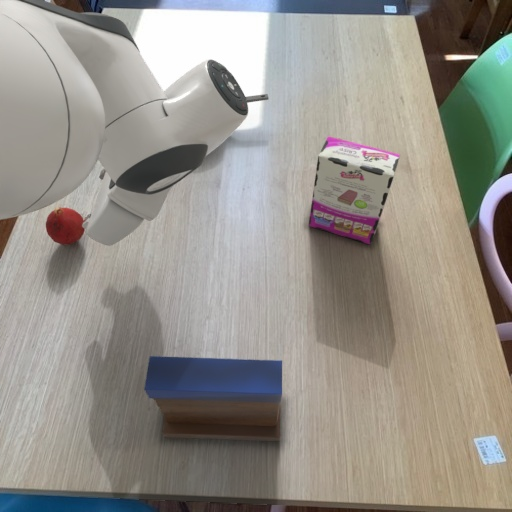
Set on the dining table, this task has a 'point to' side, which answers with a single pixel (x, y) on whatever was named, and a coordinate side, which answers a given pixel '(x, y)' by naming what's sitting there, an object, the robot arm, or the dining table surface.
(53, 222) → the red pomegranate
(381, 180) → the candy bar box
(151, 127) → the robot arm
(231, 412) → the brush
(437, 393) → the dining table surface
